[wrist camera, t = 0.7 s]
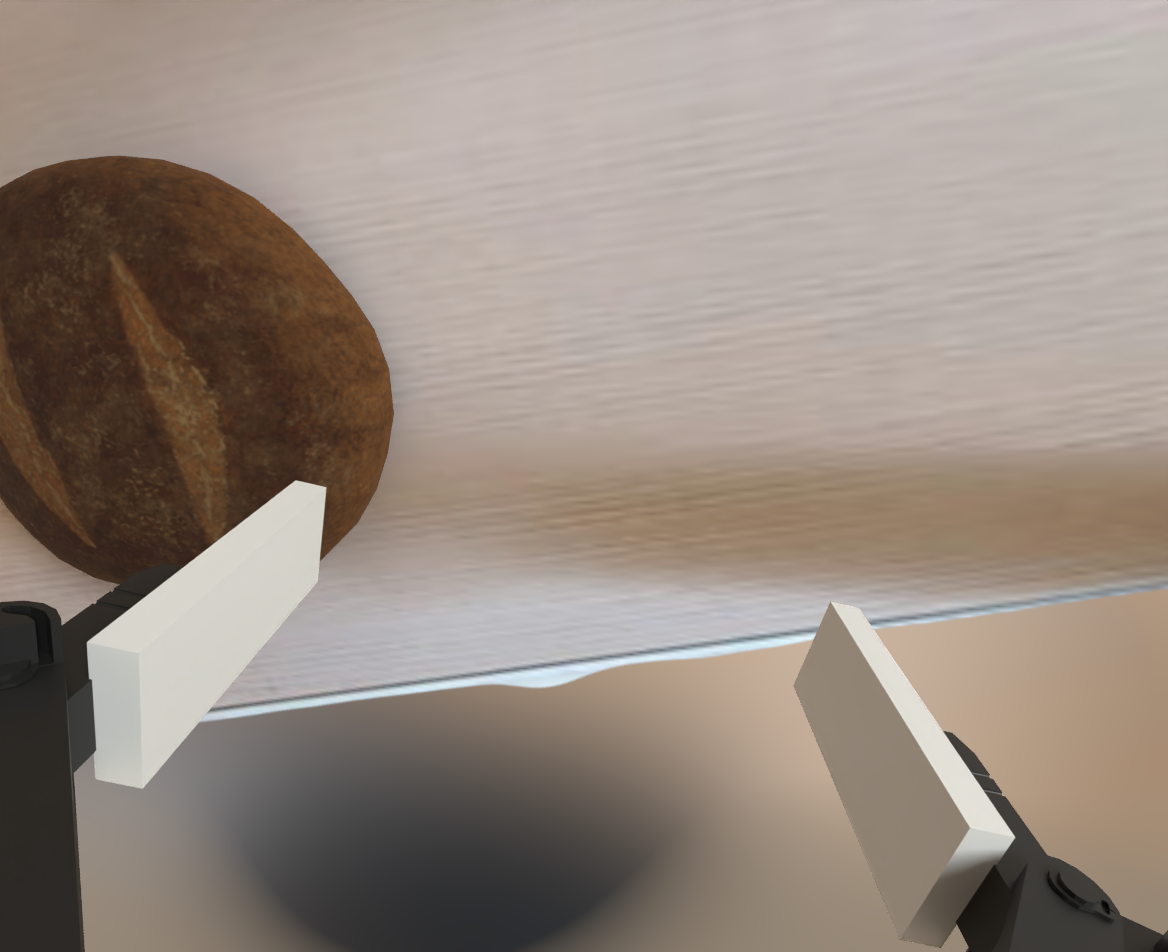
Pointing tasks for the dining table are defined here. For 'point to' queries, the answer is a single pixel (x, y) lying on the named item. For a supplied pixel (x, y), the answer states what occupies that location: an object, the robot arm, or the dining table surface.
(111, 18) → the dining table surface
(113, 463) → the bread
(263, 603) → the robot arm
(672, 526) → the dining table surface
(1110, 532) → the dining table surface
